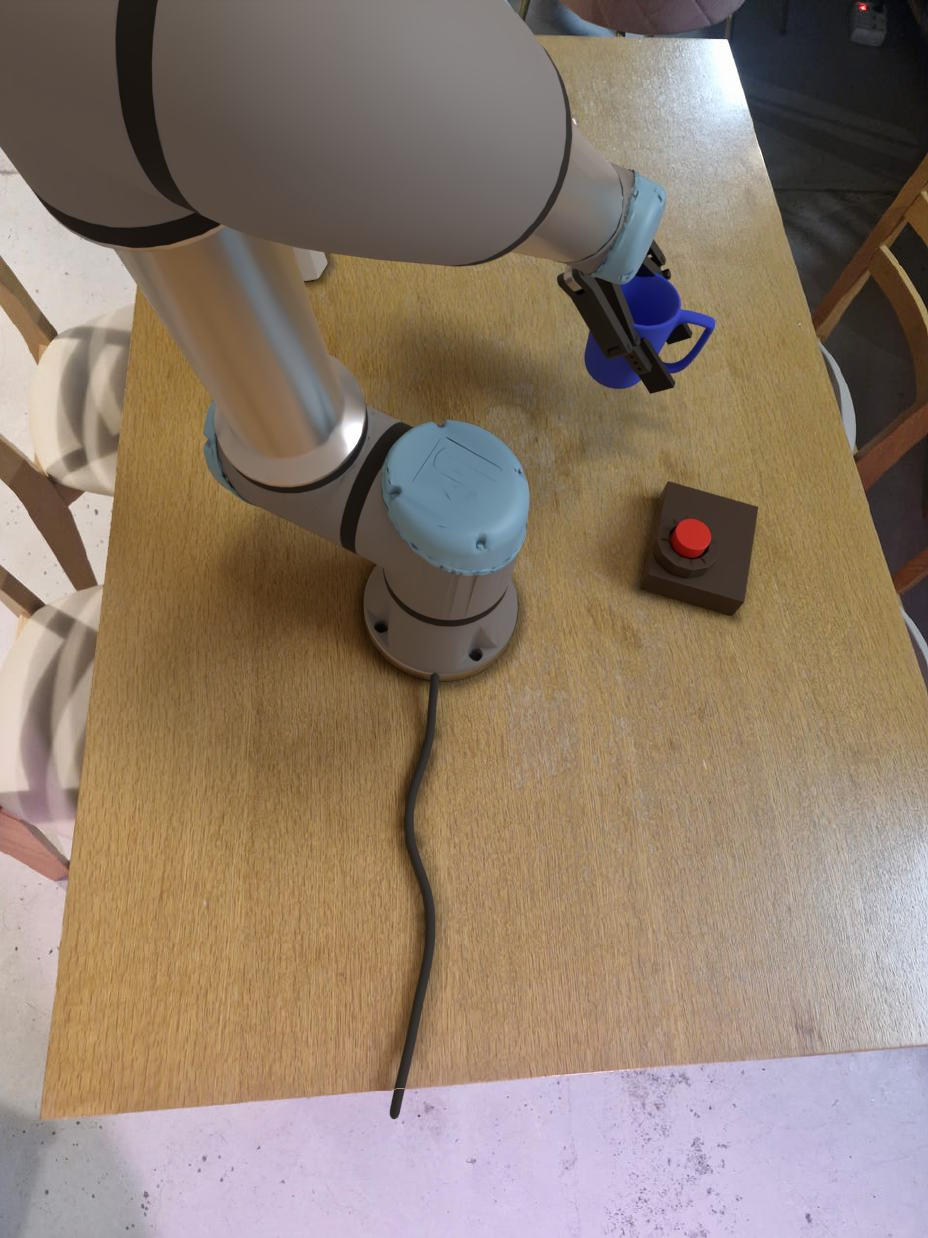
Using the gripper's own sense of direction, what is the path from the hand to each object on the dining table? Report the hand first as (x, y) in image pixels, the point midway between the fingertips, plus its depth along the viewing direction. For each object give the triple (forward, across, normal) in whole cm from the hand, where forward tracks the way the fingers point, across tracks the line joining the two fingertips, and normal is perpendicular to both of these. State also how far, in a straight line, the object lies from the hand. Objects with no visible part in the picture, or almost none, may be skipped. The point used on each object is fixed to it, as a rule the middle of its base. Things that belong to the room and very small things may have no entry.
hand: (671, 362), depth 88 cm
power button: (+10, -16, -1) cm, 19 cm away
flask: (-25, +6, +40) cm, 48 cm away
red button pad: (+14, -14, +1) cm, 20 cm away
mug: (0, 0, +5) cm, 5 cm away
